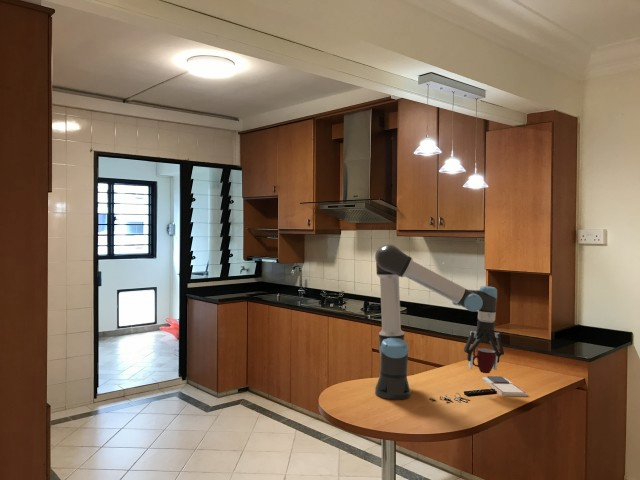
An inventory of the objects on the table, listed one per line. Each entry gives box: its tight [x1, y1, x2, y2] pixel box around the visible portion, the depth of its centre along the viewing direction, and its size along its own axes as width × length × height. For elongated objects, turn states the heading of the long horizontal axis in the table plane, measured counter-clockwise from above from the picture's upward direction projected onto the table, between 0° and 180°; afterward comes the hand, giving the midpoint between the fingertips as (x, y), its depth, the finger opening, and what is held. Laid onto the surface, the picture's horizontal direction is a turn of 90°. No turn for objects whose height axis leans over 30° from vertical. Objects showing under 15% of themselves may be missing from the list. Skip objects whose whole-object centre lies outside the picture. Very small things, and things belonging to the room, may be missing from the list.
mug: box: [472, 347, 496, 374], centre depth 233 cm, size 10×8×10 cm
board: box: [481, 375, 529, 397], centre depth 240 cm, size 12×24×2 cm, turn 3°
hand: (482, 368), depth 233 cm, fingers closed on mug, 11 cm apart
